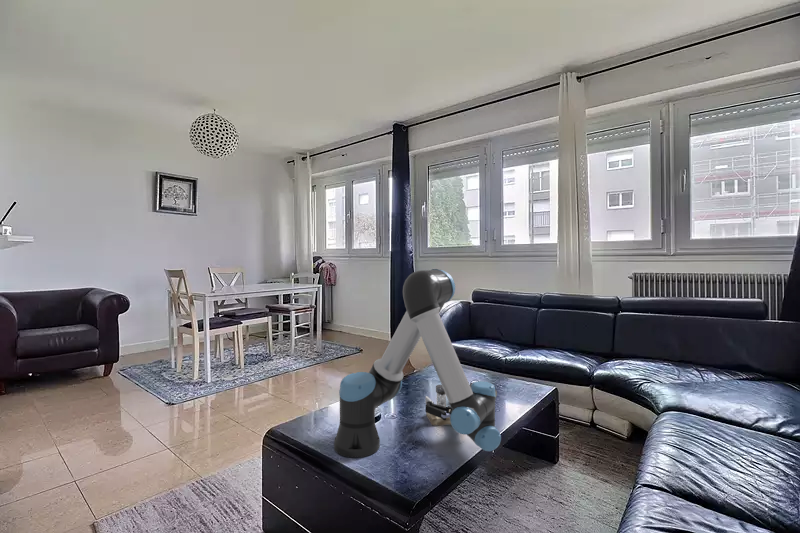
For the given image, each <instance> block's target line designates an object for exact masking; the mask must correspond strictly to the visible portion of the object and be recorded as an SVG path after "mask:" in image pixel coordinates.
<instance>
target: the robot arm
mask: <svg viewBox="0 0 800 533" xmlns="http://www.w3.org/2000/svg"><path fill="white" fill-rule="evenodd" d="M455 292H456V284H455V281H454V279H453V276H452V275H451V274H450V273H448V272H447V271H445V270H442V269H437V268H434V269H433V268H432V269H428V270H426V269H425V270H417V271H414V272H412V273H411V274H409V275H408V276H407V277H406V279H405V280H404V282H403V286H402V297H403V302H404V307H405V309H406V311H405V312H404V315H403V316H402V318H401V321H400V323H398V326H397V328H396V330H395V332H394V334H393V336H392V337H391V339H390V341H389V343H388V345H387V347H386V349H385V351H384V352H383V355H382V356H381V358H377V359H376V360H375V361H374V362H373V364H372V366H371V368H370V370H369V372H366V371H365V372H364V371H358V372H355V373H354V372H352V373H350V374H347V375H346V376H344V377H343V378H342V379H341V381H340V384H339V385H340V386H339V390H338V391H339V394H338V395H339V425H338V428H337V432H336V435H335V437H334V439H333V440H334V441H333V444H334V445H333V449H334V451H335V452H336V453H337V454H338V455H340V456H343V457H345V458H355V459H357V458H363V457H368V456H371V455H373V454H375V453H377V451H378V450H379V449H380V446H381V443H380V442H381V440H380V436H379V432H378V429H377V426H376V421H375V416H376V409H377V408H378V407H380V406H382V405H383V404H385V403H386V402H389V401H390V400H393V399H394V398H396V396H397V395H398V394H399V393H400V391H401V389H402V386H403V378H404V372H403V370H404V368H405V366H406V365H407V363H408V360H409V359H410V357H411V355H412V354H413V352H414V350H415V348H416V346H417V345H418V343H419V341H420V339H422V341H423V344H424V346H425V349H426V351H427V353H428V355H429V358H430V360H431V363H432V365H433V368H434V370H435V372H436V374H437V375H436V376H437V377H438V379H439V382H440V385H442V387H443V389H444V391H445V394H446V399H447V401H448V402H449V405H448V406H446V407H445V406H441V405H437V403H434V401H433V400H432V399H431V398H430V397H429V396H426V395H425V413H426V412H427V413H429V414H432V415H434V416H437V417H439V418H441V419H443V420H446V418H448V417H450V422H451V424H450V425H451V427H452V428H453V430H454V431H455V432H457V433H458V434H460V435H463V436H464V435H465V436H467V437H468V438H470V440H471V441H473V443H474V444H475V445H476V446H477V447H479V448H480V449H481V450H483V451H485V452H493V451H495V450H496V449H497V448H498V447H499V446H500V444H501V441H502V435H501V433H500V431H499V430H498V428H497V427H496V399H495V397H496V398H497V396H496V394H495V388H496V387H495V385H494V384H492V383H491V382H487V381H482V380H481V381H474V382H472V383H473V384H472V385H471V387H470V383H469V380H468V377H467V375H466V374H465V371H464V368H463V366H462V364H461V362H460V360H459V357H458V354H457V353H456V350H455V348H454V345H453V344H452V341H451V339H450V336H449V334H448V332H447V329H446V327H445V325H444V322H443V320H442V317H441V316H440V313H441V310H442V309H443V307H444V305H445V304H447V303H448V302H450V301H451V299H452V298H453V297H454V296H455ZM449 409H451V410H450V412H449Z"/></svg>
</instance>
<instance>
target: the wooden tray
mask: <svg viewBox="0 0 800 533" xmlns="http://www.w3.org/2000/svg"><path fill="white" fill-rule="evenodd" d="M450 410H451V409H449V412H450ZM425 413H426V414H425V416H426V417H427V419H428V420H429V423H430V424H431V426H444V425H446V426H447V425H451V422H450V417H448V418H446V420H443V419H441V418H439V417H436V416H434V415H432V414H429V413H427V412H426V411H425Z"/></svg>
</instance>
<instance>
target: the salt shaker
mask: <svg viewBox="0 0 800 533" xmlns="http://www.w3.org/2000/svg"><path fill="white" fill-rule="evenodd" d="M435 393H436V405H441V406H445V407H447V396H446V394H445V391H444V389H443V387H442V384H437V385H435ZM436 417H437V416H436Z"/></svg>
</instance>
